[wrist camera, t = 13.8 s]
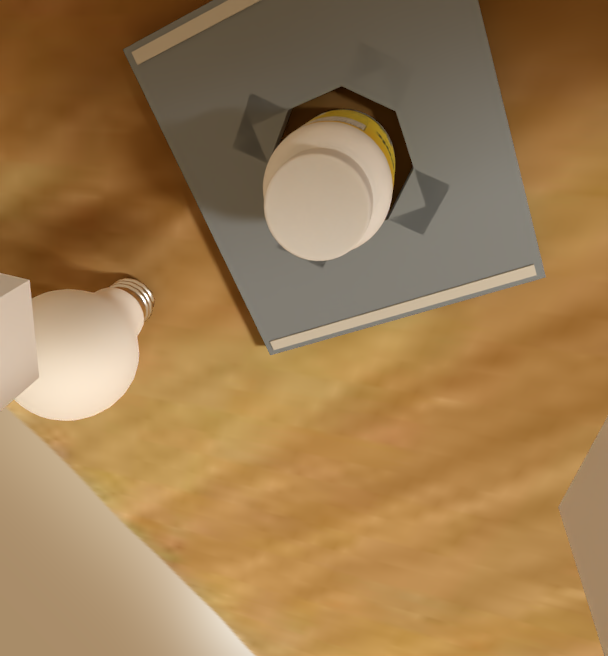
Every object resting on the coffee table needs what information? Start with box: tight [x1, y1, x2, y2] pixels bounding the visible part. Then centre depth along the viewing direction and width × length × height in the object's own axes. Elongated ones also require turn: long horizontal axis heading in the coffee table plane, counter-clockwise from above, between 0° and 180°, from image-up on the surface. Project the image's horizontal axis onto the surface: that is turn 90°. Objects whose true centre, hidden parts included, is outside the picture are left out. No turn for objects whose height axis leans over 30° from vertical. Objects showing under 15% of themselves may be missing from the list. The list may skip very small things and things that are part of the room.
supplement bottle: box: [263, 109, 395, 261], centre depth 24 cm, size 5×5×10 cm
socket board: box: [123, 0, 546, 355], centre depth 27 cm, size 16×18×1 cm
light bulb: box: [14, 278, 155, 421], centre depth 29 cm, size 7×7×11 cm
